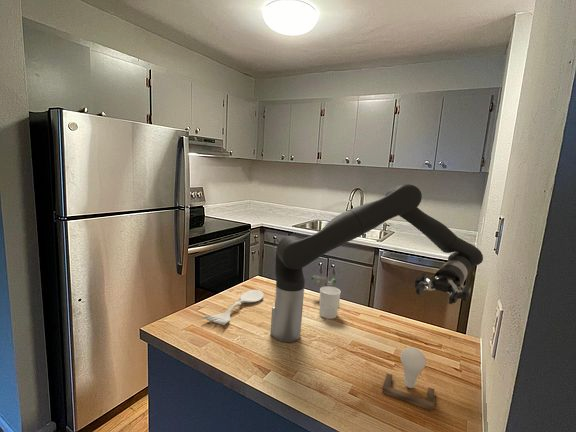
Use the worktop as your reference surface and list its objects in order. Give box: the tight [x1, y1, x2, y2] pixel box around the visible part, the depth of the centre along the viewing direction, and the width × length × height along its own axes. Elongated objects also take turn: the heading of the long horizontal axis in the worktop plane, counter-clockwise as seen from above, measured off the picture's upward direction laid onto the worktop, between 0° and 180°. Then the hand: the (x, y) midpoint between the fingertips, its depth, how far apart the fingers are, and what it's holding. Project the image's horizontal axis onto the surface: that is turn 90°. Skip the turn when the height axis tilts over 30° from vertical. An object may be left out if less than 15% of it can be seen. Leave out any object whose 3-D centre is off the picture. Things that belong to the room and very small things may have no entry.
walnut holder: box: [381, 372, 435, 412], centre depth 80 cm, size 12×7×1 cm, turn 64°
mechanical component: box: [311, 274, 337, 289], centre depth 133 cm, size 3×10×10 cm, turn 78°
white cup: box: [318, 286, 342, 320], centre depth 119 cm, size 8×8×10 cm
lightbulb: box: [400, 346, 427, 389], centre depth 82 cm, size 6×6×11 cm
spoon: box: [202, 289, 265, 326], centre depth 119 cm, size 9×32×4 cm, turn 157°
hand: (433, 296), depth 86 cm, fingers open, 8 cm apart
